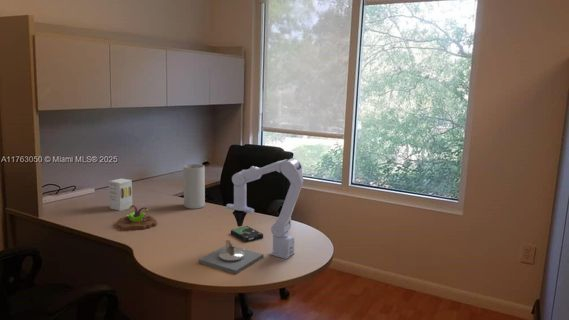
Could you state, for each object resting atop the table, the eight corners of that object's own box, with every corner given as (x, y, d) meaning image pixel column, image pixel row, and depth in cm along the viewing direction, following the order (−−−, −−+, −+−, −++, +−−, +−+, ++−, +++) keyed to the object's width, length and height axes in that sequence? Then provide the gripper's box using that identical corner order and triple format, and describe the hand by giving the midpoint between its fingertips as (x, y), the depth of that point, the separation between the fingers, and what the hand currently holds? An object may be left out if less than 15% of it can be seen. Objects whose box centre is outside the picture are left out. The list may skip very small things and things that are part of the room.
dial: (247, 259, 188) (247, 248, 187) (221, 262, 184) (221, 251, 183) (239, 247, 201) (239, 237, 200) (215, 250, 197) (215, 239, 196)
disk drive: (263, 239, 219) (247, 230, 230) (263, 233, 218) (247, 225, 229) (246, 243, 212) (230, 234, 224) (246, 238, 212) (230, 229, 223)
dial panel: (263, 257, 195) (263, 254, 195) (236, 274, 178) (236, 270, 178) (227, 247, 205) (227, 244, 205) (198, 262, 188) (198, 258, 188)
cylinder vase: (207, 204, 273) (207, 164, 269) (200, 209, 261) (200, 168, 257) (188, 202, 275) (188, 163, 271) (180, 208, 263) (179, 167, 259)
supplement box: (120, 211, 255) (118, 183, 251) (109, 208, 259) (108, 180, 256) (133, 207, 263) (132, 179, 260) (122, 204, 267) (121, 177, 264)
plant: (113, 222, 237) (112, 202, 235) (149, 216, 247) (149, 197, 245) (120, 233, 220) (120, 212, 218) (159, 227, 230) (159, 207, 228)
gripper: (258, 198, 202) (257, 226, 204) (232, 193, 209) (232, 220, 211) (249, 201, 196) (248, 230, 198) (223, 196, 203) (223, 224, 205)
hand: (239, 225), depth 204 cm, fingers closed
